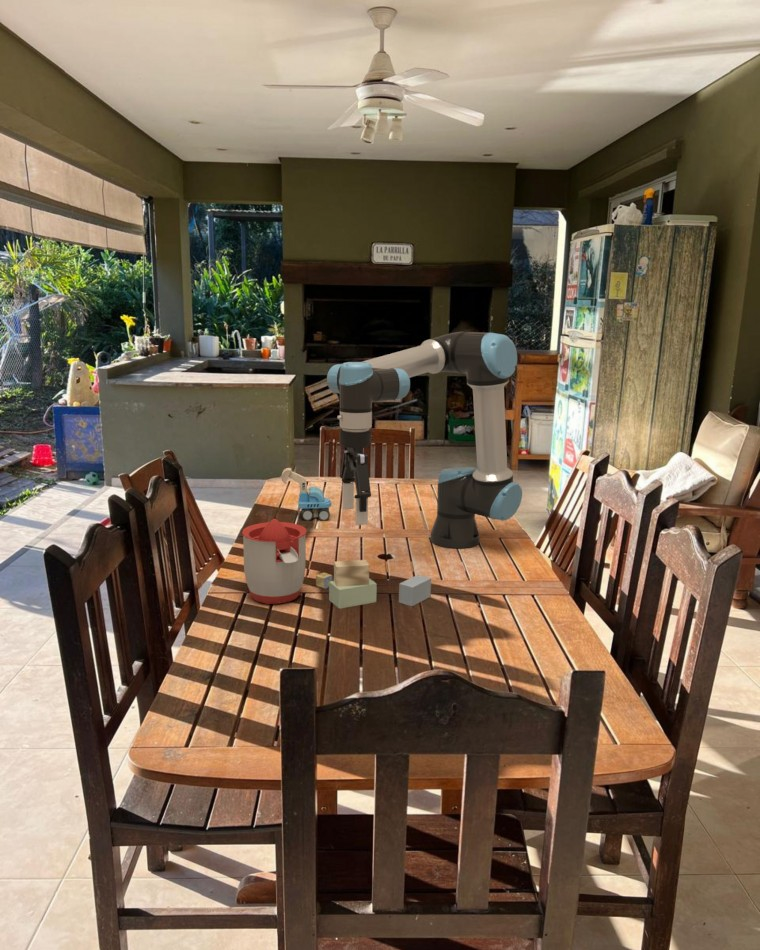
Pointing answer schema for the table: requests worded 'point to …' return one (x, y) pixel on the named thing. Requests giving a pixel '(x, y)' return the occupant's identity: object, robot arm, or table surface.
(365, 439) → the robot arm
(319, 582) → the alphabet block
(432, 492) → the table surface
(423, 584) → the slate brick
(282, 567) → the citrus juicer
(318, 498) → the toy excavator
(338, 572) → the maple brick
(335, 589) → the sage brick
